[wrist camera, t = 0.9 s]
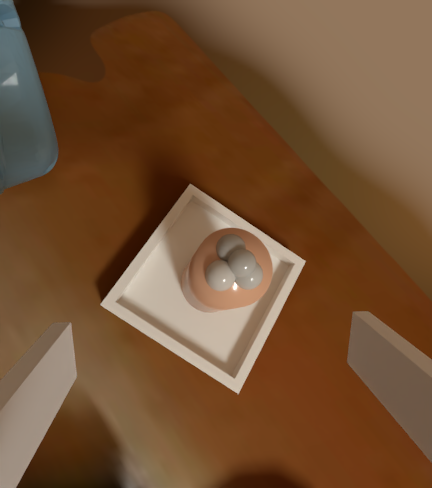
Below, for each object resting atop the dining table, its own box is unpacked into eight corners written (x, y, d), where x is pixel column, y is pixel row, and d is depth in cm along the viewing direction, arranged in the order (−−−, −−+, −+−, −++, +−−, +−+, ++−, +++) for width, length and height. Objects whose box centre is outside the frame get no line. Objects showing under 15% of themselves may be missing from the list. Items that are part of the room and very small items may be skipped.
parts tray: (103, 306, 31) (100, 305, 29) (187, 192, 36) (190, 183, 34) (231, 388, 32) (238, 394, 29) (295, 265, 37) (305, 261, 35)
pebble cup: (169, 291, 32) (181, 273, 21) (200, 243, 34) (228, 203, 23) (219, 324, 32) (258, 323, 21) (247, 275, 34) (297, 250, 23)
